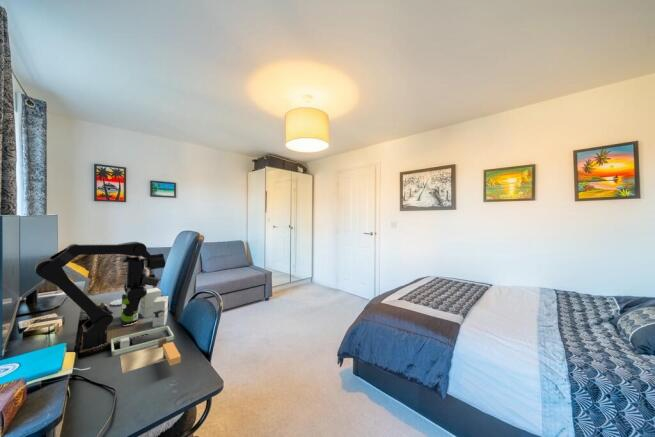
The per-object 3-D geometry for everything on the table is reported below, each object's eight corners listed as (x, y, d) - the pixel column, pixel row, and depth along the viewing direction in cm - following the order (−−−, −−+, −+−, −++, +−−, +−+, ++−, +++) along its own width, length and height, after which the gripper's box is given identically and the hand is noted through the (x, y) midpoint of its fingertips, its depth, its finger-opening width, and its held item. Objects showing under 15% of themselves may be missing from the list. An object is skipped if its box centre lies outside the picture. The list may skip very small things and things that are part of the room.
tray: (111, 358, 87) (112, 351, 87) (110, 345, 96) (110, 338, 96) (174, 341, 100) (174, 335, 100) (167, 331, 109) (168, 325, 109)
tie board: (122, 376, 78) (122, 365, 78) (119, 358, 87) (120, 348, 87) (179, 358, 89) (179, 348, 89) (171, 344, 98) (172, 335, 98)
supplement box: (156, 310, 132) (157, 287, 132) (160, 314, 127) (161, 290, 127) (139, 314, 126) (140, 290, 126) (143, 318, 121) (144, 293, 121)
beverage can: (136, 320, 119) (137, 289, 119) (138, 324, 115) (140, 292, 115) (119, 323, 114) (121, 292, 114) (121, 328, 110) (123, 295, 110)
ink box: (155, 320, 120) (156, 296, 120) (167, 318, 122) (168, 295, 122) (151, 327, 112) (152, 302, 112) (164, 326, 114) (165, 300, 114)
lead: (120, 349, 92) (120, 341, 92) (120, 346, 94) (120, 338, 94) (163, 338, 101) (164, 331, 101) (162, 335, 104) (162, 328, 104)
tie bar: (169, 365, 78) (170, 359, 78) (162, 350, 87) (163, 344, 87) (180, 362, 80) (180, 356, 80) (172, 347, 89) (172, 341, 89)
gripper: (162, 273, 102) (160, 310, 102) (154, 265, 116) (153, 298, 116) (128, 276, 95) (126, 316, 95) (124, 268, 108) (122, 303, 108)
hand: (133, 307), depth 104 cm, fingers open, 9 cm apart
